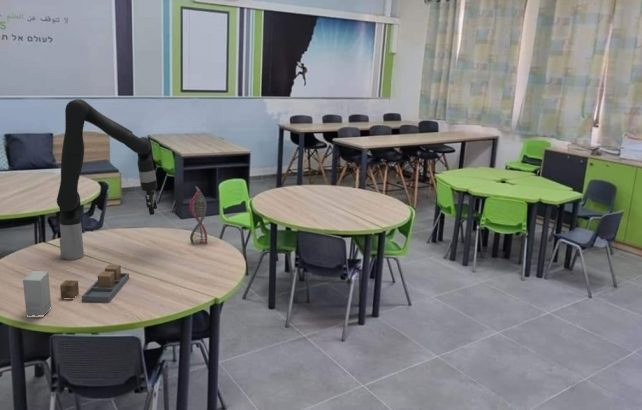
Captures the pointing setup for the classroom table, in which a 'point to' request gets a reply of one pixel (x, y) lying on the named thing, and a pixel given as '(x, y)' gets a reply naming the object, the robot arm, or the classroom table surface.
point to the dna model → (198, 217)
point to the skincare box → (37, 293)
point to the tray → (104, 291)
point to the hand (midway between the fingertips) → (153, 211)
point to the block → (69, 289)
